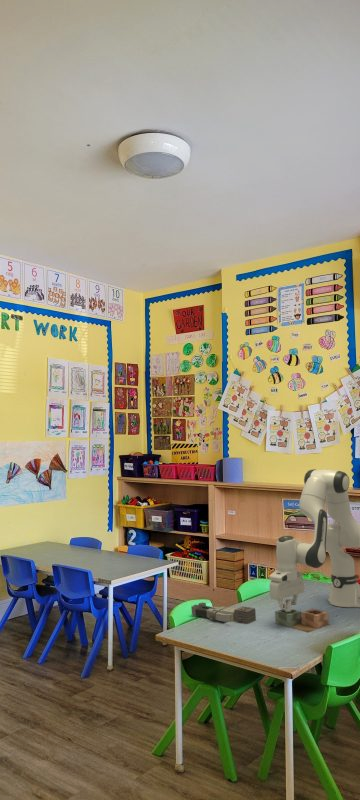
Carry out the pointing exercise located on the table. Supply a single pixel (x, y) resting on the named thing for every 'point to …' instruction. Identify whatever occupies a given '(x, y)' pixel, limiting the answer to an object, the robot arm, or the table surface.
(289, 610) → the metal pin
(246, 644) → the table surface
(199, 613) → the toy figure
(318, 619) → the dock board
